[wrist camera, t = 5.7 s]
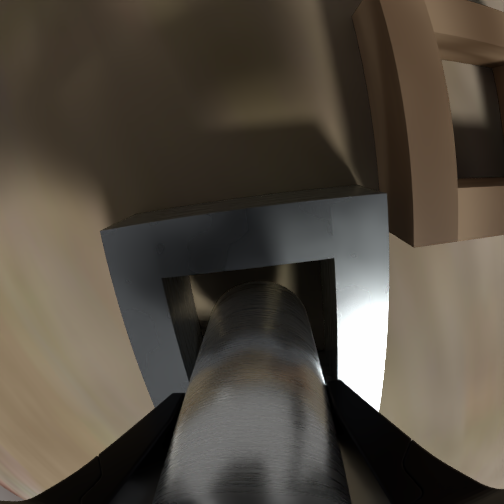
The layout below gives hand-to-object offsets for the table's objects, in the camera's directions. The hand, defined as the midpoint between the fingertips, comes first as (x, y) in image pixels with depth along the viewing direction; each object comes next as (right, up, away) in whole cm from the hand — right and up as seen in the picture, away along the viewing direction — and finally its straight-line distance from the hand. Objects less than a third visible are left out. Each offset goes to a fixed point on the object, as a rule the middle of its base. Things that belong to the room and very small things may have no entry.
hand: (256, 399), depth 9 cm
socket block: (+10, +11, +4) cm, 15 cm away
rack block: (0, +2, +6) cm, 7 cm away
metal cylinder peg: (0, +1, +4) cm, 4 cm away
